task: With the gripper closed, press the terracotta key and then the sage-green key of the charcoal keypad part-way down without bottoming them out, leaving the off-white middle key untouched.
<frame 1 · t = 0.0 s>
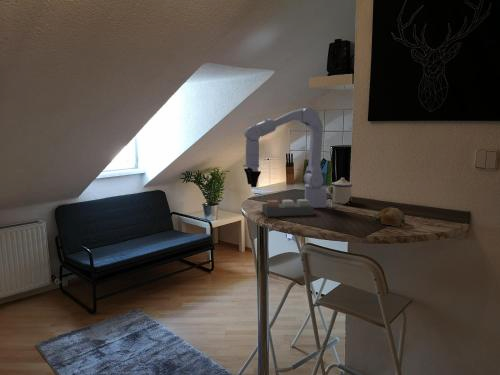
hand: (252, 185, 180), 10 cm above the counter, tool pointing down, fingers open, 7 cm apart
white key: (287, 204, 172), point 4 cm above the counter, slide at 0.0 cm
teacup with lid: (338, 202, 198), on the counter
bread roll: (389, 223, 159), on the counter
keypad: (287, 213, 173), on the counter
terracotta key: (272, 205, 171), point 4 cm above the counter, slide at 0.0 cm
sage key: (302, 204, 173), point 4 cm above the counter, slide at 0.0 cm
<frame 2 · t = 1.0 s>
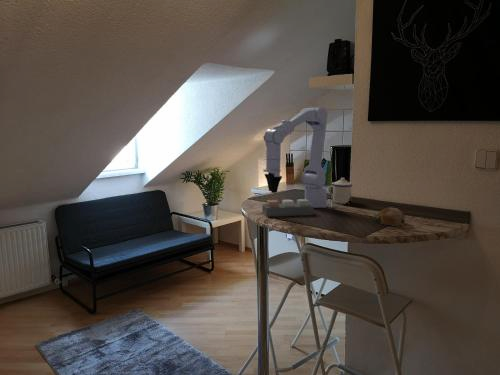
hand: (272, 191, 170), 9 cm above the counter, tool pointing down, fingers open, 4 cm apart
nothing on the counter moved.
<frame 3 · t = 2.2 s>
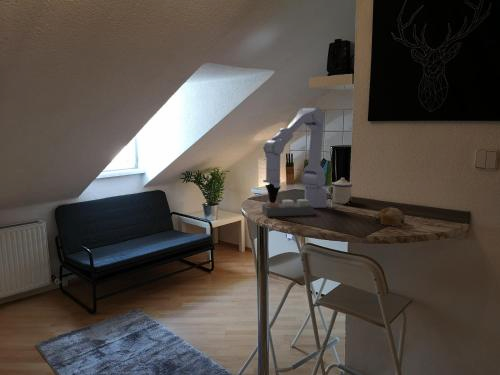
hand: (272, 202, 171), 5 cm above the counter, tool pointing down, fingers closed, pressing on terracotta key
terracotta key: (272, 206, 171), point 3 cm above the counter, slide at 0.4 cm, touching gripper
everything else where it was.
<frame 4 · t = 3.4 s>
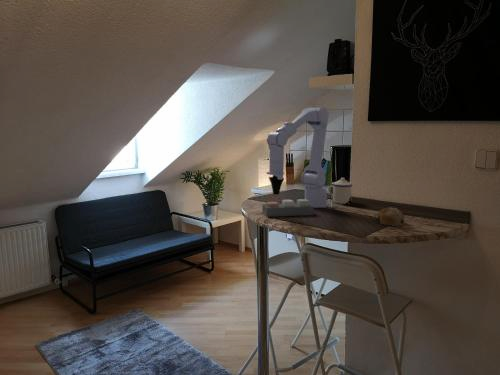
hand: (276, 194, 170), 8 cm above the counter, tool pointing down, fingers closed
terracotta key: (272, 206, 171), point 3 cm above the counter, slide at 0.7 cm
everything else where it was.
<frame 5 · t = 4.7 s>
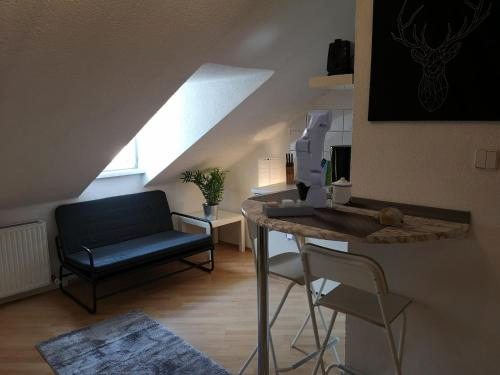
hand: (302, 200, 173), 5 cm above the counter, tool pointing down, fingers closed, pressing on sage key
sage key: (302, 204, 173), point 4 cm above the counter, slide at 0.1 cm, touching gripper
everything else where it was.
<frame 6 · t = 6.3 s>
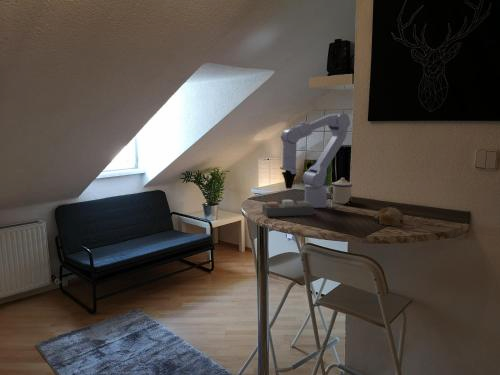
hand: (288, 188, 180), 9 cm above the counter, tool pointing down, fingers closed
sage key: (302, 205, 173), point 3 cm above the counter, slide at 0.7 cm
everything else where it was.
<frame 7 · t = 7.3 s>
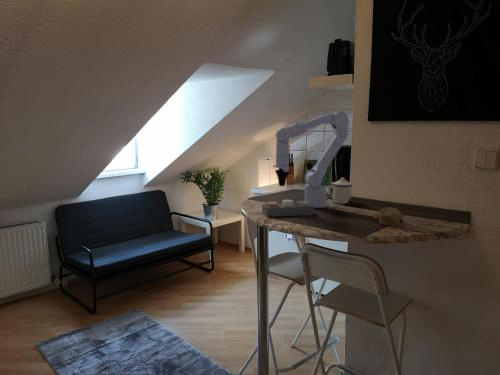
hand: (281, 185, 185), 9 cm above the counter, tool pointing down, fingers closed
nothing on the counter moved.
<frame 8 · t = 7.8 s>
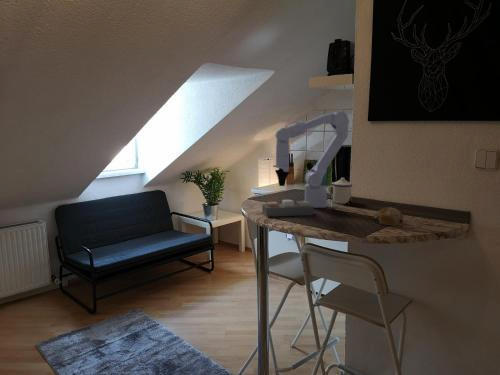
hand: (281, 185, 185), 9 cm above the counter, tool pointing down, fingers closed
nothing on the counter moved.
at the end: terracotta key slide at 0.7 cm; sage key slide at 0.7 cm; white key slide at 0.0 cm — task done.
